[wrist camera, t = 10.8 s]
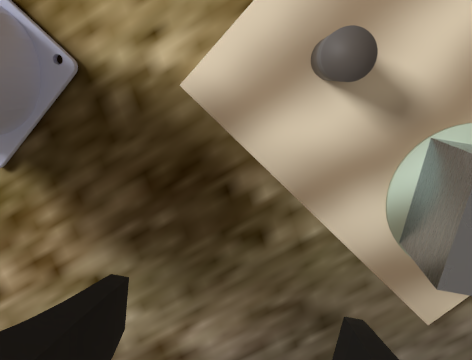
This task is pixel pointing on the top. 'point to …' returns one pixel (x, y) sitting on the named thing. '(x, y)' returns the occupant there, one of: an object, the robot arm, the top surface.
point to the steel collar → (443, 217)
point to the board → (348, 113)
